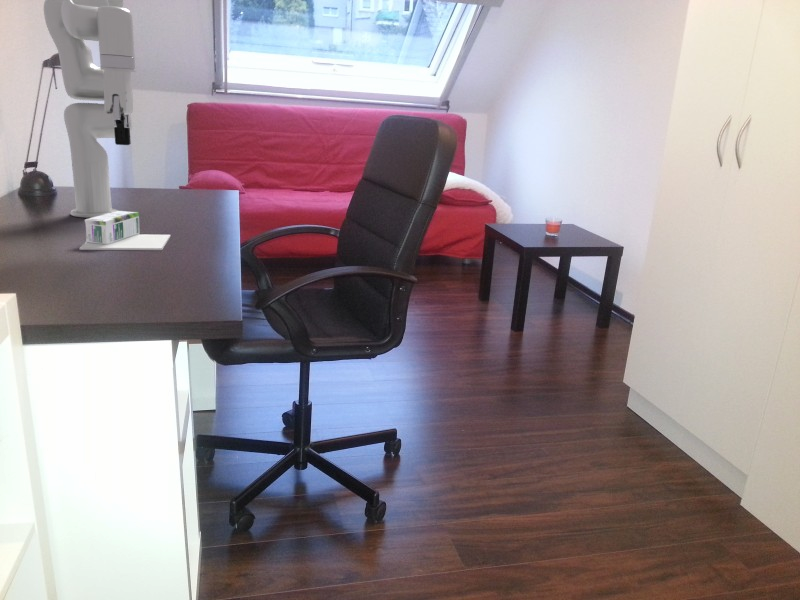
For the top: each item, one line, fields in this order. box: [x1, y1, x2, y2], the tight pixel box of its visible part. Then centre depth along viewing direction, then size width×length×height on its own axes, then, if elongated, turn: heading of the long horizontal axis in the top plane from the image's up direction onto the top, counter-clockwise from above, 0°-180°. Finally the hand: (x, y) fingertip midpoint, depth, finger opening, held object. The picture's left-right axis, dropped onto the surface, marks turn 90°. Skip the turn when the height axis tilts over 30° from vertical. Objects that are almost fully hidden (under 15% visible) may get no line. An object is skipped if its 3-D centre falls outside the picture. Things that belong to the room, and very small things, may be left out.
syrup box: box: [84, 210, 141, 244], centre depth 159 cm, size 6×6×14 cm
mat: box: [78, 233, 171, 251], centre depth 158 cm, size 16×18×1 cm
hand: (123, 144), depth 156 cm, fingers closed
